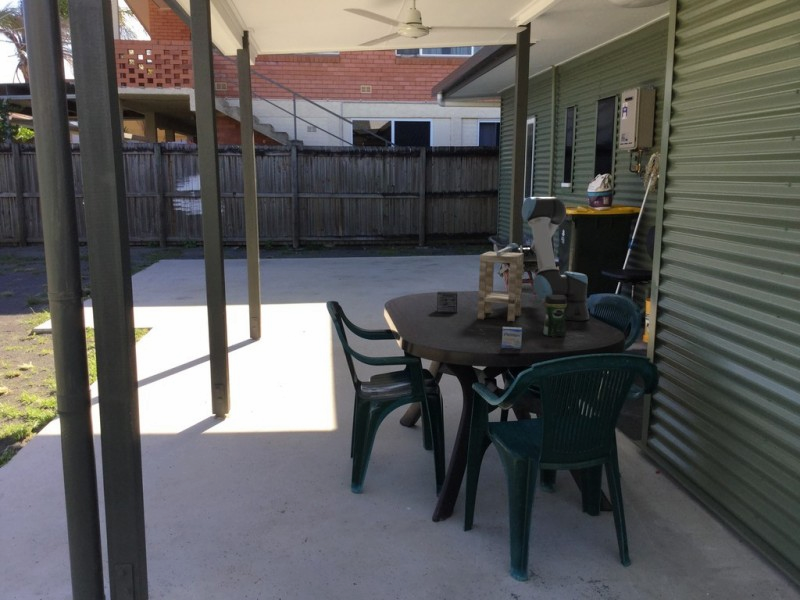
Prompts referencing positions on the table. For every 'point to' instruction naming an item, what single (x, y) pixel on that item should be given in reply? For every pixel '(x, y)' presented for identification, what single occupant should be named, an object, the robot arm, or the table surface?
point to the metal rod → (504, 251)
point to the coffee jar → (555, 315)
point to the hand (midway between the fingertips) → (507, 247)
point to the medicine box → (511, 337)
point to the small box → (446, 302)
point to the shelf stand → (487, 284)
